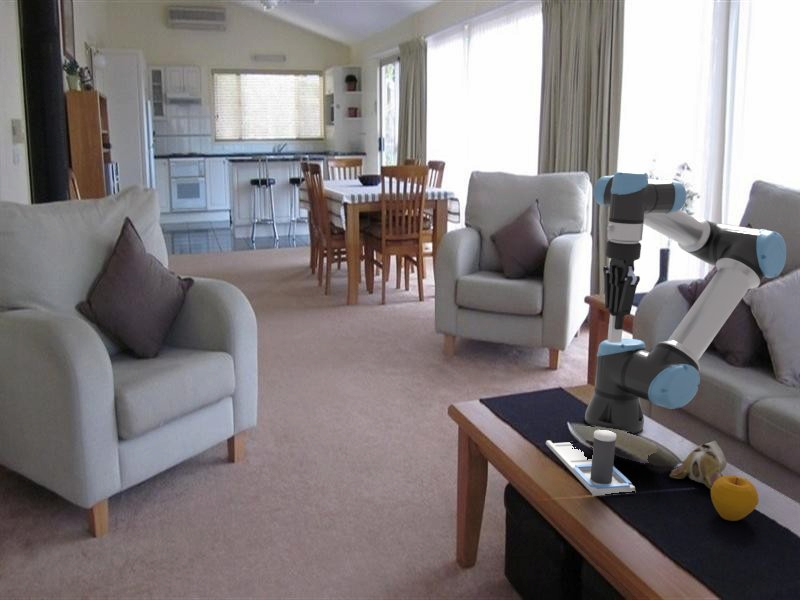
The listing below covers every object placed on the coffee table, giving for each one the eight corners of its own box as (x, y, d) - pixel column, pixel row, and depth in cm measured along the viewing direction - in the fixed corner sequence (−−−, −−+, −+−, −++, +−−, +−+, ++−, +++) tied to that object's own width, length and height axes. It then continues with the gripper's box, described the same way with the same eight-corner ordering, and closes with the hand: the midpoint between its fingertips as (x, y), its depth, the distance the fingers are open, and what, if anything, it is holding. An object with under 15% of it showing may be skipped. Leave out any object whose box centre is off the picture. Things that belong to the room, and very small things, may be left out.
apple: (742, 535, 144) (749, 492, 142) (698, 516, 150) (704, 476, 148) (762, 520, 149) (768, 479, 147) (719, 503, 156) (724, 463, 154)
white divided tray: (582, 443, 184) (583, 437, 184) (635, 492, 159) (636, 485, 159) (545, 445, 182) (545, 439, 182) (592, 496, 157) (593, 489, 157)
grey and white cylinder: (605, 473, 167) (609, 428, 164) (616, 483, 162) (620, 437, 160) (586, 475, 166) (590, 430, 163) (596, 485, 161) (600, 438, 159)
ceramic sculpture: (740, 440, 167) (718, 465, 156) (736, 475, 169) (714, 502, 158) (692, 428, 173) (668, 451, 162) (689, 461, 176) (665, 486, 165)
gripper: (595, 236, 172) (586, 334, 177) (622, 245, 159) (612, 350, 165) (625, 236, 173) (615, 333, 178) (654, 245, 161) (643, 349, 166)
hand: (614, 341), depth 172 cm, fingers closed
